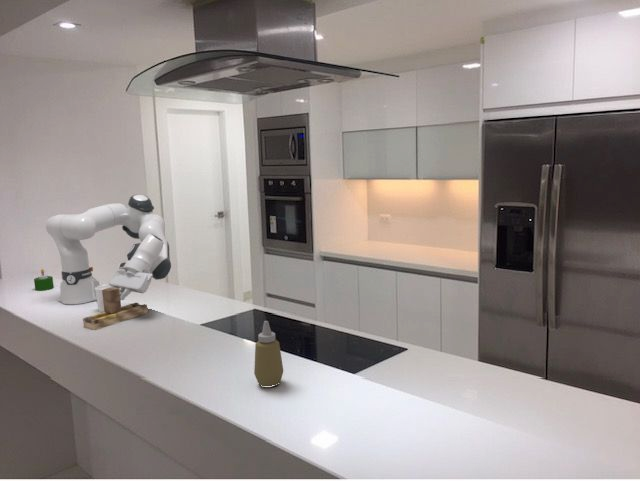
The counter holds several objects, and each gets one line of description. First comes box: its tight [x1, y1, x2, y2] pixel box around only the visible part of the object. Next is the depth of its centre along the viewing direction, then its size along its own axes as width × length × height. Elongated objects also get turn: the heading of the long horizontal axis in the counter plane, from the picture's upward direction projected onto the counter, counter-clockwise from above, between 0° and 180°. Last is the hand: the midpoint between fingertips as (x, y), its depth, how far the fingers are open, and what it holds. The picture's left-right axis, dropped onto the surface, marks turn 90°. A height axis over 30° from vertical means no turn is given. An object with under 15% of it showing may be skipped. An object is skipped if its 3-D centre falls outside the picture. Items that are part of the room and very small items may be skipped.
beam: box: [82, 302, 149, 331], centre depth 215 cm, size 24×7×4 cm, turn 145°
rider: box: [102, 287, 122, 315], centre depth 213 cm, size 4×4×10 cm
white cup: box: [95, 284, 111, 313], centre depth 229 cm, size 8×8×10 cm
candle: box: [33, 268, 55, 292], centre depth 270 cm, size 8×8×10 cm
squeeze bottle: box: [253, 320, 284, 386], centre depth 149 cm, size 8×8×18 cm
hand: (119, 299), depth 215 cm, fingers closed
